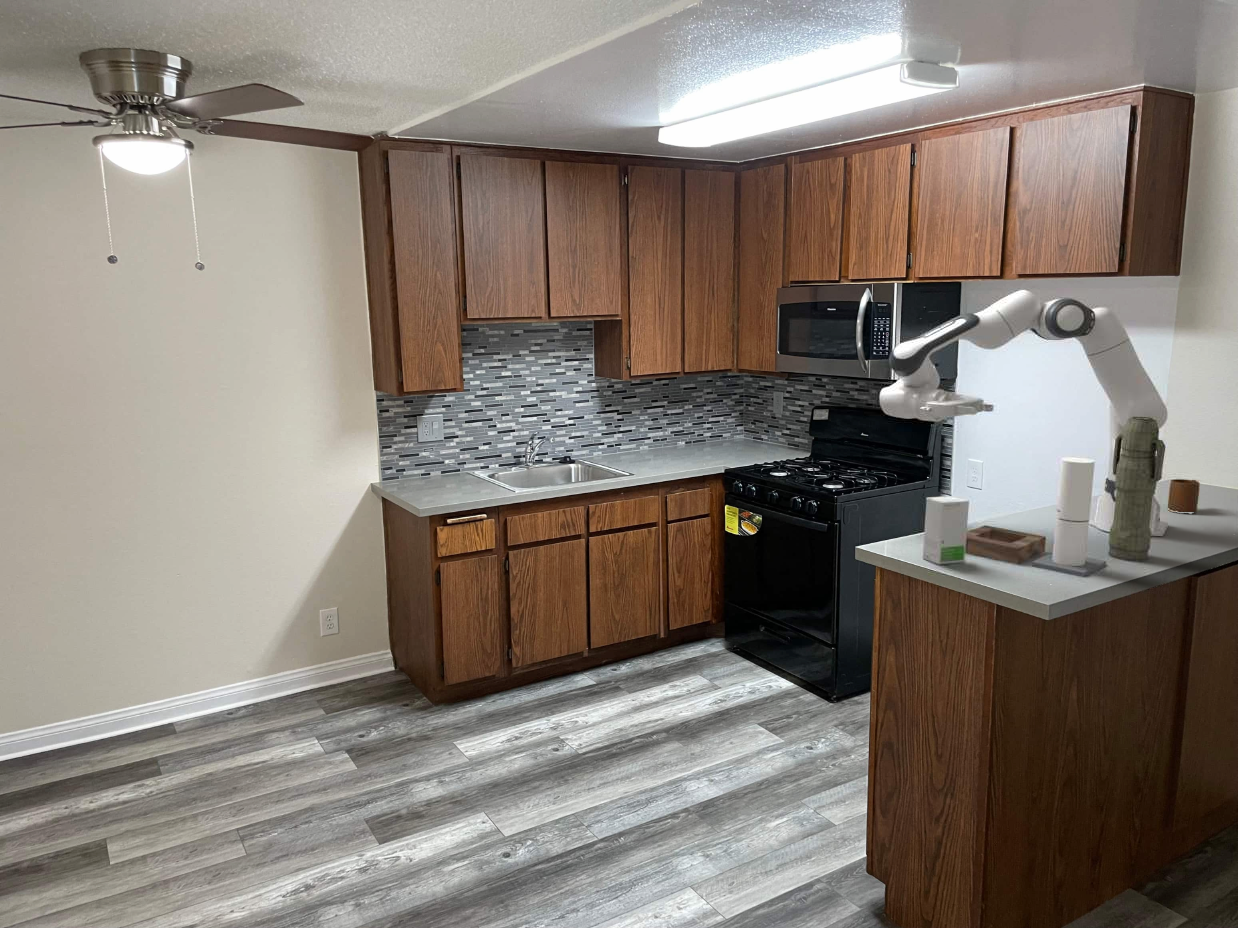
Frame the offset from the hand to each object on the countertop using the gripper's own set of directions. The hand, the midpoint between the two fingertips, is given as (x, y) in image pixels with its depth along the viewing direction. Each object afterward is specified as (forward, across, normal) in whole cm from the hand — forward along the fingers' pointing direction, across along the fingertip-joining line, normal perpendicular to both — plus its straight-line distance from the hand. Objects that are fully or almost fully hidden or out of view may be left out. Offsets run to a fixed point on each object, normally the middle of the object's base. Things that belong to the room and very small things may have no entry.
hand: (984, 409), depth 237 cm
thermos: (+34, +12, +35) cm, 50 cm away
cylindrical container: (+27, -7, +34) cm, 44 cm away
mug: (+28, +79, +35) cm, 91 cm away
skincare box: (+4, -25, +35) cm, 43 cm away
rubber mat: (+27, -7, +35) cm, 45 cm away
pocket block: (+10, -7, +35) cm, 37 cm away
